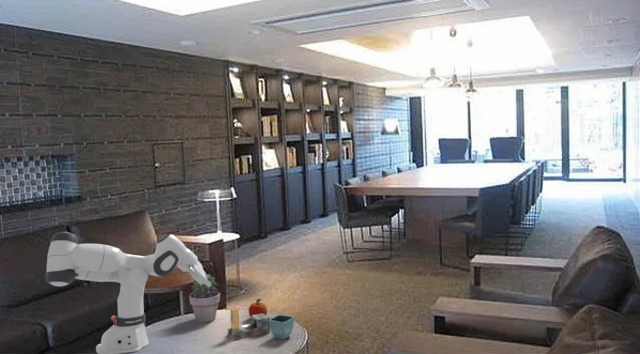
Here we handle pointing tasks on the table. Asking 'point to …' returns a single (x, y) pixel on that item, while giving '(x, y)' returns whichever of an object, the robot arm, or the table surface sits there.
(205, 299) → the potted plant
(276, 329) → the flower pot
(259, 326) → the rail base
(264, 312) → the fruit
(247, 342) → the table surface
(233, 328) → the tall wooden block
